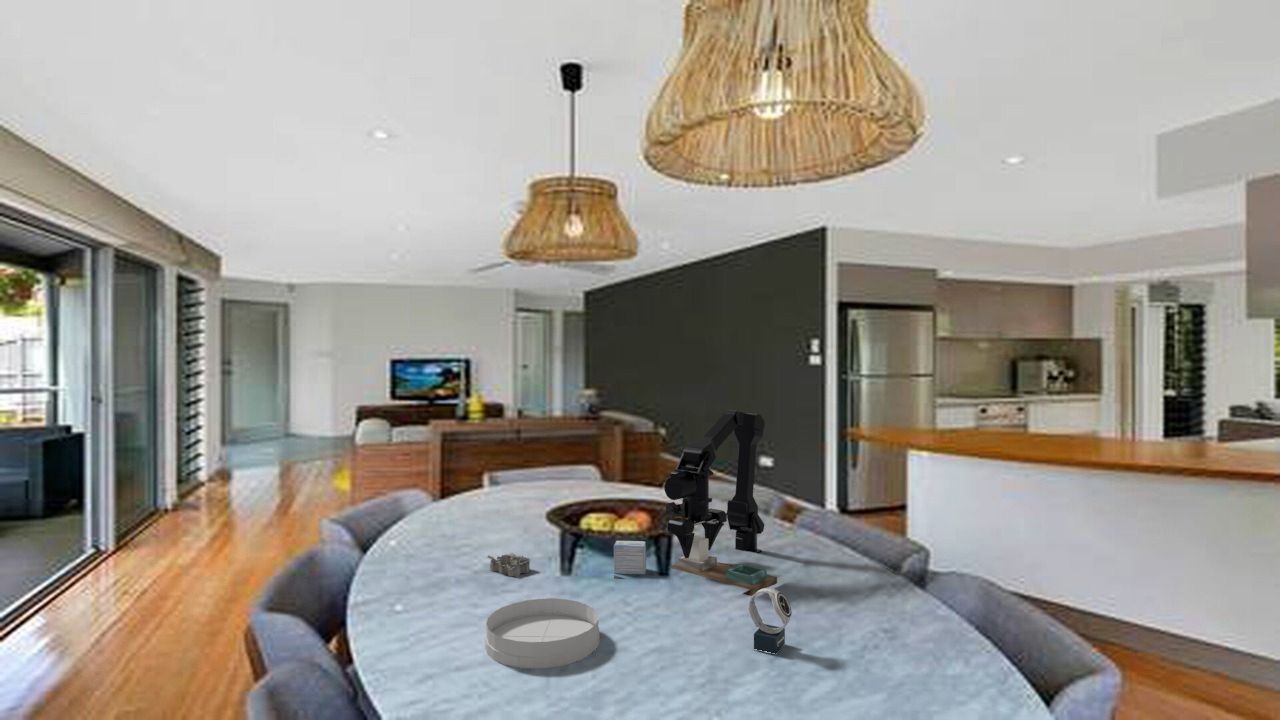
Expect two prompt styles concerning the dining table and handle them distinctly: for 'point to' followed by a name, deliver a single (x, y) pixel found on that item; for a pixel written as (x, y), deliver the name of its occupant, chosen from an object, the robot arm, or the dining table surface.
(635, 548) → the medicine box
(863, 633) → the dining table surface
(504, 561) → the toy castle
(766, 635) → the watch
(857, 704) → the dining table surface
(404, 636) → the dining table surface
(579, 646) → the dish
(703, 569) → the socket board
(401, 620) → the dining table surface
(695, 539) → the plug
